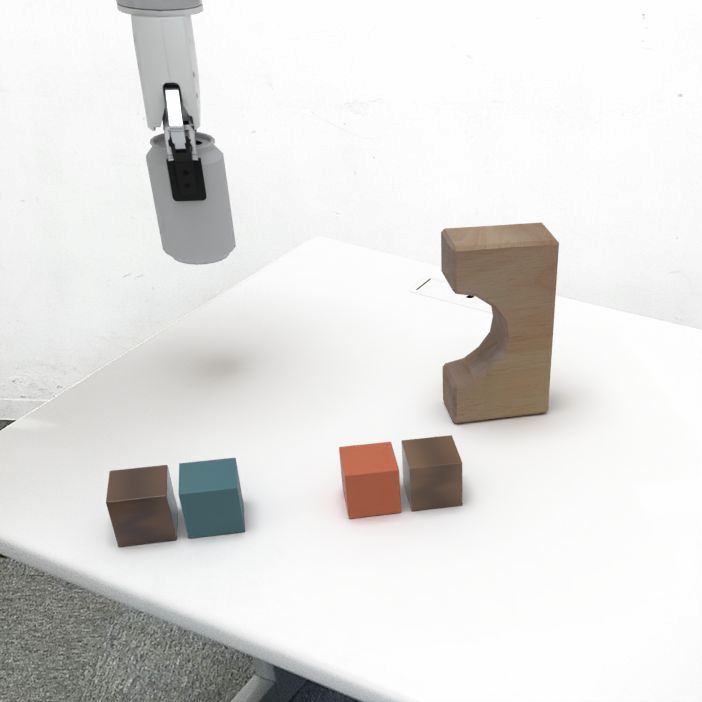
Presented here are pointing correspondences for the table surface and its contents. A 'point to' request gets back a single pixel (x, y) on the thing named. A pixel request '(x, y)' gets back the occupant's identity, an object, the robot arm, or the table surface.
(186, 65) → the robot arm
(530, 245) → the decorative block
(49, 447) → the table surface
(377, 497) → the block
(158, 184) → the can
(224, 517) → the block
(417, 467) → the block
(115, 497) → the block
